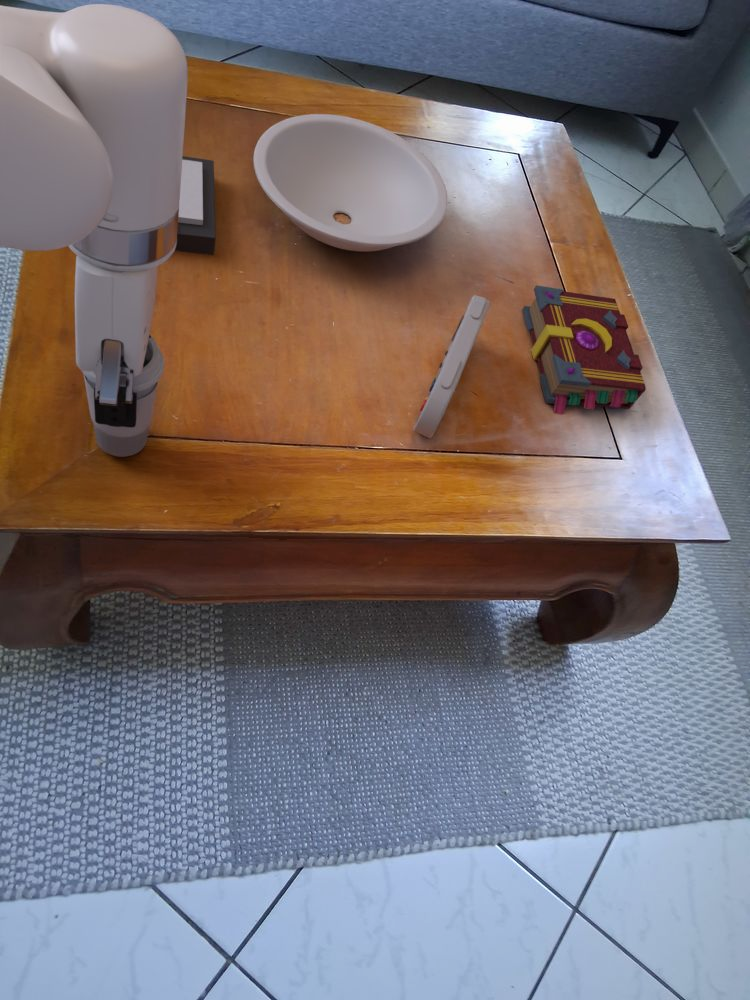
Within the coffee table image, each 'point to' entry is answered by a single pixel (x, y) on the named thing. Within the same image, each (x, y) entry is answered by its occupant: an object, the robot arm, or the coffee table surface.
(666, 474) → the coffee table surface
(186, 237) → the scale
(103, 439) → the cup
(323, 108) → the coffee table surface
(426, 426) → the game controller
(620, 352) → the decorative book
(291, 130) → the white sink basin
